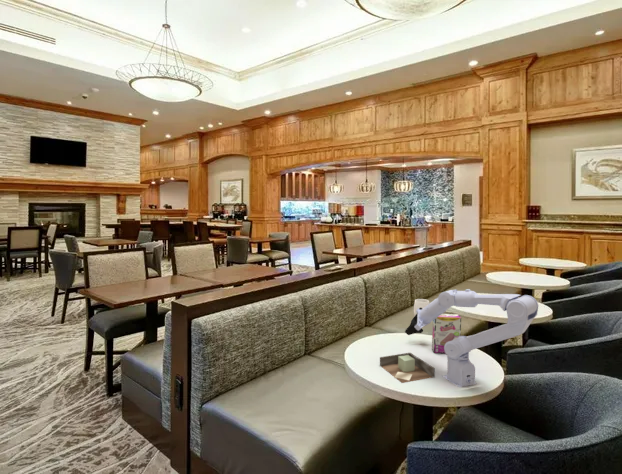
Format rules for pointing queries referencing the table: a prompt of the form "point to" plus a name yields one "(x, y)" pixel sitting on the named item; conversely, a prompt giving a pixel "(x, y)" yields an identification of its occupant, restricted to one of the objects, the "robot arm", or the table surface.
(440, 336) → the candy bar box
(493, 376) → the table surface
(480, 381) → the table surface
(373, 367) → the table surface
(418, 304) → the cup
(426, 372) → the tray
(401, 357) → the sage cube
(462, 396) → the table surface
